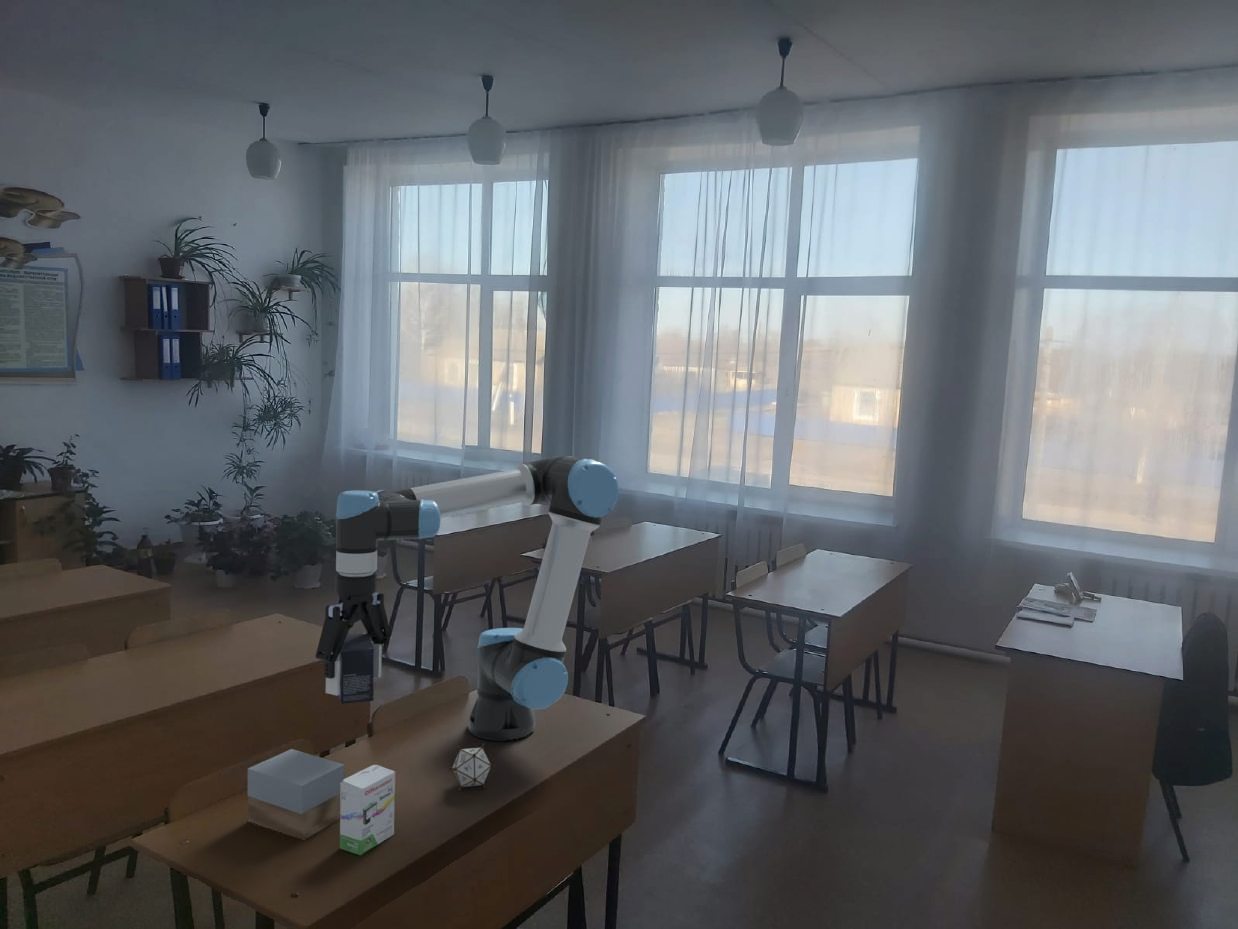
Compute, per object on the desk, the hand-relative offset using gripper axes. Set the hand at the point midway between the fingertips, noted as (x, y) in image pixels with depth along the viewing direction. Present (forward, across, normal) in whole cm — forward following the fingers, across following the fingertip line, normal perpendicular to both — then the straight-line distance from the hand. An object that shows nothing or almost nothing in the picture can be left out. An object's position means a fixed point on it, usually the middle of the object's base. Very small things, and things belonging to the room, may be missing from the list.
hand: (354, 684), depth 171 cm
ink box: (+20, +15, +16) cm, 30 cm away
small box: (+2, 0, 0) cm, 2 cm away
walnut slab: (+21, +15, 0) cm, 25 cm away
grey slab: (+16, +15, 0) cm, 22 cm away
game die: (+20, -11, +20) cm, 31 cm away
